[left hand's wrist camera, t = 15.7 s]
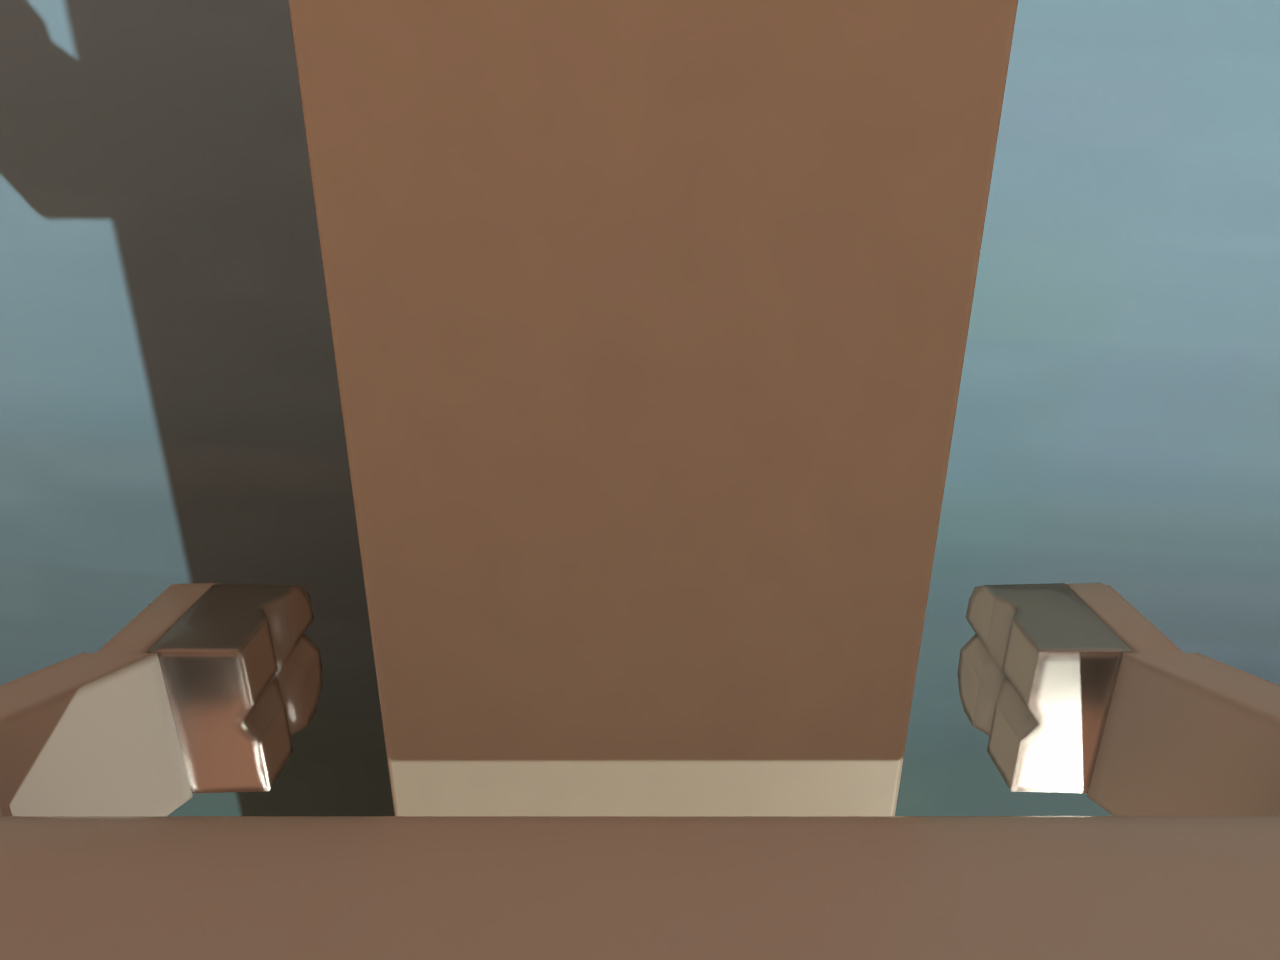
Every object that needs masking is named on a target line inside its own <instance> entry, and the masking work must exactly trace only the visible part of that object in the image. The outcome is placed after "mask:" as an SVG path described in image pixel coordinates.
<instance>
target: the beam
mask: <svg viewBox="0 0 1280 960" xmlns="http://www.w3.org/2000/svg"><path fill="white" fill-rule="evenodd" d="M1017 4H1018V0H289V7H290V15H291V23H292V30H293V38H294V46H295V53H296V61H297V69H298V77H299V84H300V92H301V100H302V107H303V115H304V123H305V130H306V138H307V146H308V153H309V161H310V169H311V176H312V184H313V192H314V199H315V207H316V215H317V222H318V230H319V238H320V245H321V253H322V261H323V268H324V276H325V284H326V292H327V299H328V307H329V315H330V322H331V330H332V338H333V345H334V353H335V361H336V368H337V376H338V384H339V391H340V399H341V407H342V414H343V422H344V430H345V437H346V445H347V453H348V460H349V468H350V476H351V484H352V491H353V499H354V507H355V514H356V522H357V530H358V537H359V545H360V553H361V560H362V568H363V576H364V583H365V591H366V599H367V606H368V614H369V622H370V629H371V637H372V645H373V652H374V660H375V668H376V675H377V683H378V691H379V699H380V706H381V714H382V722H383V729H384V737H385V745H386V752H387V760H388V768H389V775H390V783H391V791H392V798H393V806H394V814H395V816H895V810H896V803H897V797H898V790H899V783H900V777H901V770H902V764H903V757H904V750H905V744H906V737H907V731H908V724H909V717H910V711H911V704H912V698H913V691H914V684H915V678H916V671H917V665H918V658H919V651H920V645H921V638H922V632H923V625H924V618H925V612H926V605H927V599H928V592H929V585H930V579H931V572H932V566H933V559H934V552H935V546H936V539H937V533H938V526H939V519H940V513H941V506H942V500H943V493H944V486H945V480H946V473H947V467H948V460H949V453H950V447H951V440H952V434H953V427H954V420H955V414H956V407H957V401H958V394H959V387H960V381H961V374H962V368H963V361H964V354H965V348H966V341H967V335H968V328H969V321H970V315H971V308H972V302H973V295H974V288H975V282H976V275H977V269H978V262H979V255H980V249H981V242H982V236H983V229H984V222H985V216H986V209H987V203H988V196H989V189H990V183H991V176H992V170H993V163H994V156H995V150H996V143H997V137H998V130H999V123H1000V117H1001V110H1002V104H1003V97H1004V90H1005V84H1006V77H1007V70H1008V64H1009V57H1010V51H1011V44H1012V37H1013V31H1014V24H1015V18H1016V11H1017Z"/></svg>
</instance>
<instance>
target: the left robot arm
mask: <svg viewBox="0 0 1280 960" xmlns="http://www.w3.org/2000/svg"><path fill="white" fill-rule="evenodd" d="M313 619H314V615H313V610H312V605H311V600H310V595H309V593H308V592H307V591H306V589H305V588H304V587H303V586H302V585H271V584H218V583H187V584H173V585H170V586H169V587H168V588H167V589H166V590H165V591H164V592H163V593H161V594H160V595H159V596H158V597H157V598H156V599H155V600H154V601H153V602H152V603H150V604H149V605H148V606H147V607H146V608H145V609H144V610H143V611H142V612H140V613H139V614H138V615H137V616H136V617H135V618H134V619H133V620H132V621H131V622H129V623H128V624H127V625H126V626H125V627H124V628H123V629H122V630H121V631H120V632H118V633H117V634H116V635H115V636H114V637H113V638H112V639H111V640H110V641H108V642H107V643H106V644H105V645H104V646H103V647H102V648H101V649H100V650H99V651H97V652H96V653H81V654H78V655H76V656H73V657H71V658H68V659H66V660H63V661H61V662H58V663H55V664H53V665H50V666H48V667H45V668H43V669H40V670H38V671H35V672H33V673H30V674H28V675H25V676H23V677H20V678H18V679H15V680H13V681H10V682H8V683H5V684H3V685H0V960H1280V685H1277V684H1275V683H1272V682H1270V681H1267V680H1265V679H1262V678H1260V677H1257V676H1255V675H1252V674H1250V673H1247V672H1245V671H1242V670H1240V669H1237V668H1234V667H1232V666H1229V665H1227V664H1224V663H1222V662H1219V661H1217V660H1214V659H1212V658H1209V657H1207V656H1204V655H1202V654H1199V653H1184V652H1183V651H1182V650H1180V649H1179V648H1178V647H1177V646H1176V645H1175V644H1174V643H1173V642H1172V641H1171V640H1169V639H1168V638H1167V637H1166V636H1165V635H1164V634H1163V633H1162V632H1161V631H1160V630H1158V629H1157V628H1156V627H1155V626H1154V625H1153V624H1152V623H1151V622H1150V621H1149V620H1147V619H1146V618H1145V617H1144V616H1143V615H1142V614H1141V613H1140V612H1139V611H1138V610H1136V609H1135V608H1134V607H1133V606H1132V605H1131V604H1130V603H1129V602H1128V601H1126V600H1125V599H1124V598H1123V597H1122V596H1121V595H1120V594H1119V593H1118V592H1117V591H1115V590H1114V589H1113V588H1112V587H1111V586H1110V585H1106V584H1103V583H1099V582H1098V583H1076V584H1065V583H1056V584H1014V585H983V586H978V587H975V588H974V590H973V592H972V594H971V597H970V599H969V603H968V609H967V615H966V619H967V620H968V622H969V623H970V625H971V627H972V628H973V630H974V631H975V633H976V634H975V635H974V636H973V637H972V638H971V639H970V640H969V641H968V642H967V643H966V645H965V646H964V647H963V648H962V649H961V651H960V659H959V667H958V683H959V694H960V698H961V702H962V705H963V708H964V711H965V713H966V715H967V717H968V719H969V720H970V722H971V724H972V726H974V727H975V728H977V729H979V730H980V731H982V732H984V733H985V734H987V735H988V736H990V738H989V743H988V749H987V752H988V753H989V755H990V757H991V758H992V760H993V762H994V763H995V765H996V767H997V768H998V770H999V772H1000V774H1001V775H1002V777H1003V779H1004V780H1005V782H1006V784H1007V785H1008V787H1009V789H1010V790H1011V791H1023V792H1060V793H1088V795H1087V797H1089V798H1090V799H1091V800H1093V801H1094V802H1095V803H1097V804H1098V805H1099V806H1101V807H1102V808H1104V809H1105V810H1106V811H1108V812H1109V813H1110V814H1112V815H1113V816H167V815H169V814H170V813H171V812H173V811H174V810H175V809H177V808H178V807H179V806H181V805H182V804H184V803H185V802H186V801H188V800H189V799H190V798H192V793H219V792H255V791H270V789H271V787H272V786H273V784H274V782H275V780H276V779H277V777H278V775H279V774H280V772H281V770H282V769H283V767H284V765H285V763H286V762H287V760H288V758H289V757H290V755H291V753H292V752H293V749H292V743H291V738H290V736H292V735H293V734H295V733H296V732H298V731H300V730H301V729H303V728H305V727H306V726H308V724H309V722H310V720H311V718H312V717H313V715H314V713H315V711H316V709H317V705H318V701H319V696H320V692H321V688H322V664H321V657H320V651H319V649H318V648H317V647H316V646H315V645H314V643H313V642H312V641H311V640H310V639H309V638H308V637H307V636H306V635H305V634H304V633H305V631H306V630H307V628H308V627H309V625H310V623H311V622H312V620H313Z"/></svg>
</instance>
